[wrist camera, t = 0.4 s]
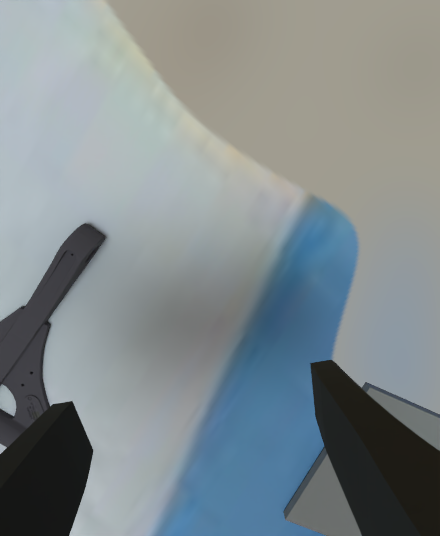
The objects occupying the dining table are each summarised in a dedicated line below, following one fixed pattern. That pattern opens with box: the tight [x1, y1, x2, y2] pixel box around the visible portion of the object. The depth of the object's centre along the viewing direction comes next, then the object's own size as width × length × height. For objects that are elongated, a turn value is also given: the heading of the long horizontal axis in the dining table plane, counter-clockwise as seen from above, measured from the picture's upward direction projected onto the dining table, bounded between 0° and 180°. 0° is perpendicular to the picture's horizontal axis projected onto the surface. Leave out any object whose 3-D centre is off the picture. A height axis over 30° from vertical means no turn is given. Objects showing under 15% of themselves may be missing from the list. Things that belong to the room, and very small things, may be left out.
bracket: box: [0, 223, 106, 447], centre depth 20 cm, size 14×15×3 cm
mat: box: [284, 382, 440, 536], centre depth 24 cm, size 11×14×1 cm
